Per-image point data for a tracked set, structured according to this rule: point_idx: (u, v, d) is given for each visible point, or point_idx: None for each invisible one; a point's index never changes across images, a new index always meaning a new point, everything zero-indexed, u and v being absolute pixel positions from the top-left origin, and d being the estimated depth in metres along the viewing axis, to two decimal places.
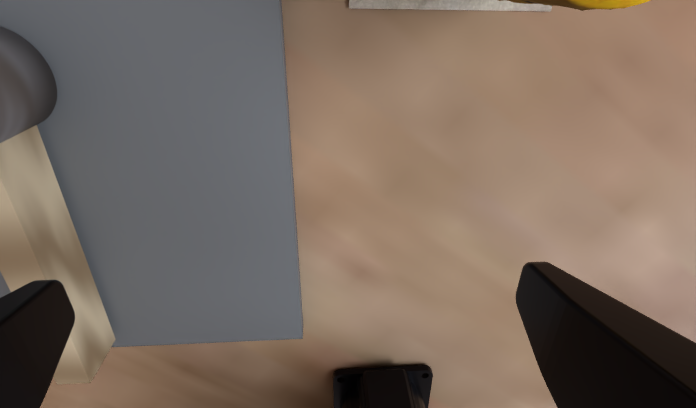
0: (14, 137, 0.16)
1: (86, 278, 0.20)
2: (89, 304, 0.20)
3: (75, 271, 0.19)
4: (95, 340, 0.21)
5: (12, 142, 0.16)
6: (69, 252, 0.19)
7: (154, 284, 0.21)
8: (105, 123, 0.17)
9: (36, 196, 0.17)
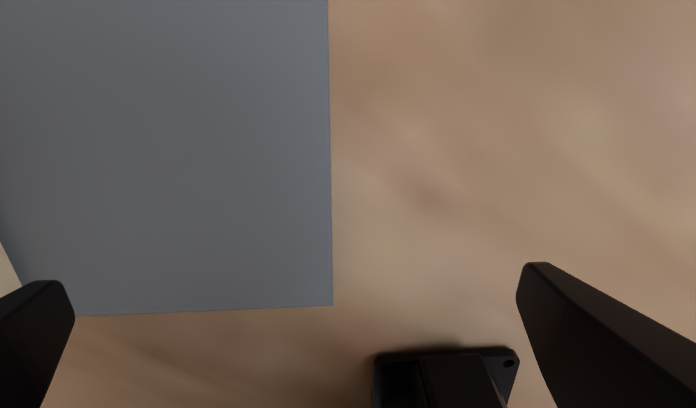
0: None
1: None
2: None
3: None
4: None
5: None
6: None
7: (88, 209, 0.13)
8: None
9: None
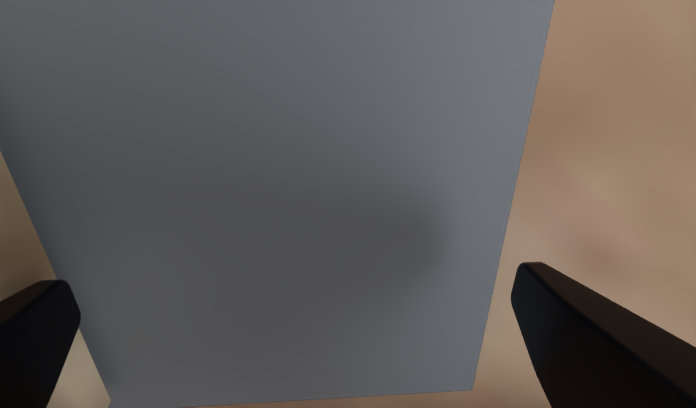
0: None
1: (37, 277, 0.08)
2: None
3: (3, 260, 0.08)
4: None
5: None
6: None
7: (192, 289, 0.10)
8: None
9: None
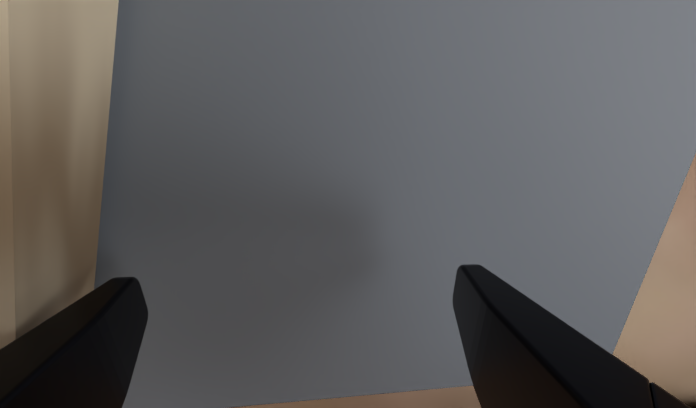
0: None
1: (86, 270, 0.08)
2: None
3: (75, 252, 0.08)
4: None
5: None
6: (81, 205, 0.07)
7: (369, 280, 0.10)
8: None
9: (72, 20, 0.05)
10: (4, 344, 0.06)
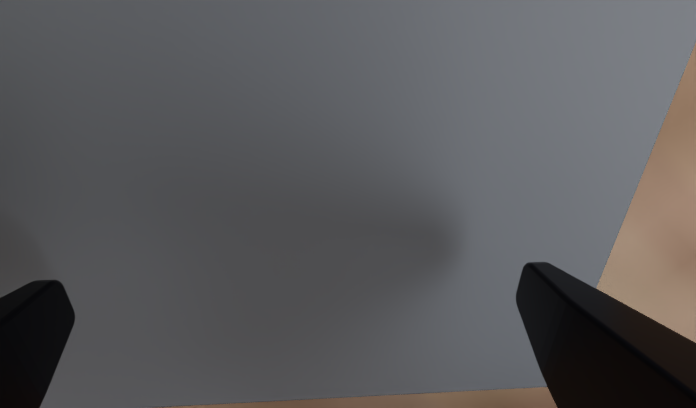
0: None
1: None
2: None
3: None
4: None
5: None
6: None
7: (300, 281, 0.10)
8: None
9: None
10: None
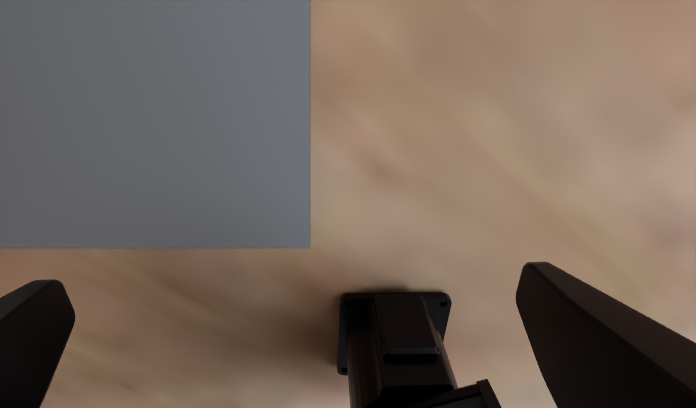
0: None
1: None
2: None
3: None
4: None
5: None
6: None
7: (139, 167, 0.18)
8: None
9: None
10: None
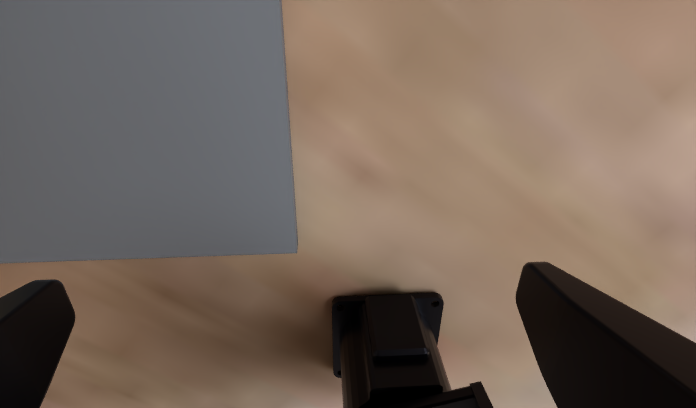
0: None
1: None
2: None
3: None
4: None
5: None
6: None
7: (124, 179, 0.19)
8: None
9: None
10: None
